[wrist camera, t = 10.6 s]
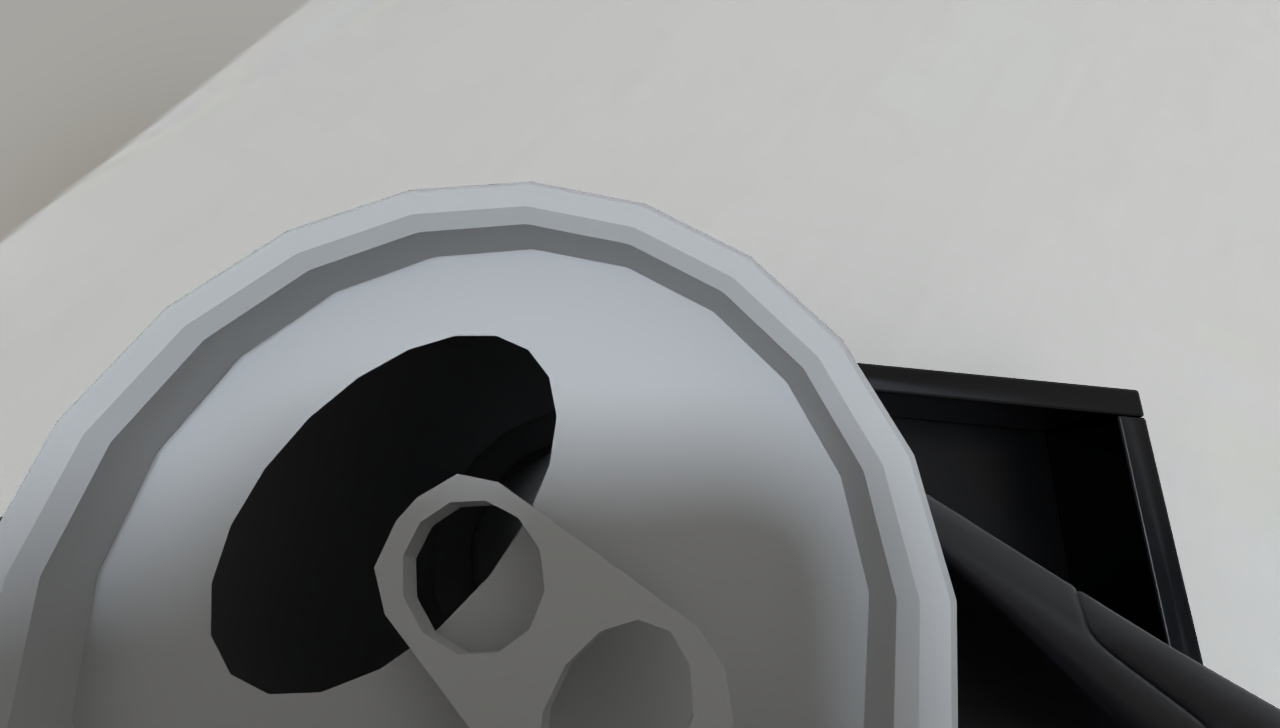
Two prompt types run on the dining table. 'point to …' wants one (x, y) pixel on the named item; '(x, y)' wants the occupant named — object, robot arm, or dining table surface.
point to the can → (479, 494)
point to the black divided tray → (1050, 482)
